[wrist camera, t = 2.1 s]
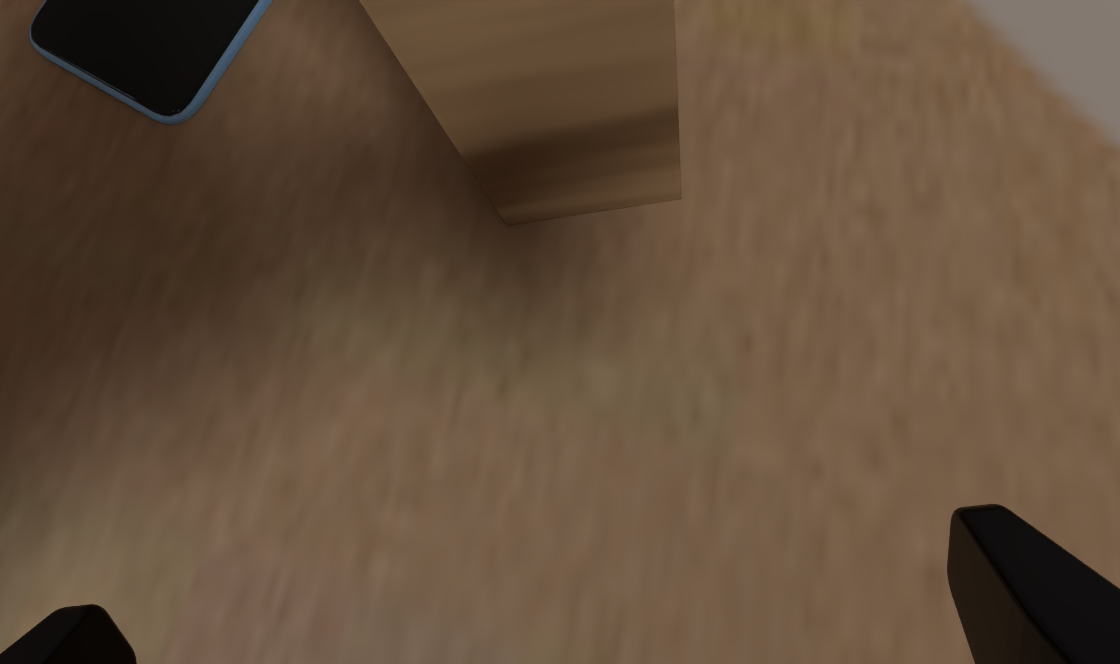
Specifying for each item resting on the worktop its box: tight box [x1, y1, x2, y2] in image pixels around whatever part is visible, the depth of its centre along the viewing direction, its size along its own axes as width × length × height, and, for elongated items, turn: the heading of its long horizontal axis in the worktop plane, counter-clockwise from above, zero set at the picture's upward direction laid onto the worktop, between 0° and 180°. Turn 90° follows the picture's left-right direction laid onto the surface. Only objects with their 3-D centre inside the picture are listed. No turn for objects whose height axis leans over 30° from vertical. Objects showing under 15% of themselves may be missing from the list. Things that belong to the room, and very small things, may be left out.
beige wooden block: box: [359, 0, 682, 225], centre depth 18 cm, size 5×5×12 cm
